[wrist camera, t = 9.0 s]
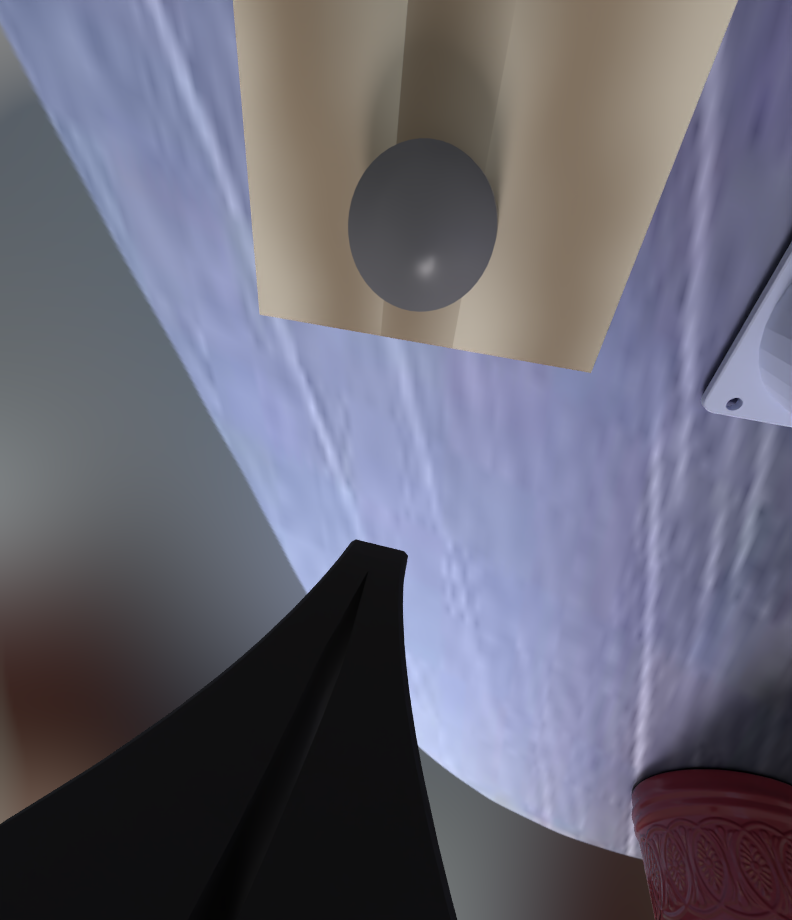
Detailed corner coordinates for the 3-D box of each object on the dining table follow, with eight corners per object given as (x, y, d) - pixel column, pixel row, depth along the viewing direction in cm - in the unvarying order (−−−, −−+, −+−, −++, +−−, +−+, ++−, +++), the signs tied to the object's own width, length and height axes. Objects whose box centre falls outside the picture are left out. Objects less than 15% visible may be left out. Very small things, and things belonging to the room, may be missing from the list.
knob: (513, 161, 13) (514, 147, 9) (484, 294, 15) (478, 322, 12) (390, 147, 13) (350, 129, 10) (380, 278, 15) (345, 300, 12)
